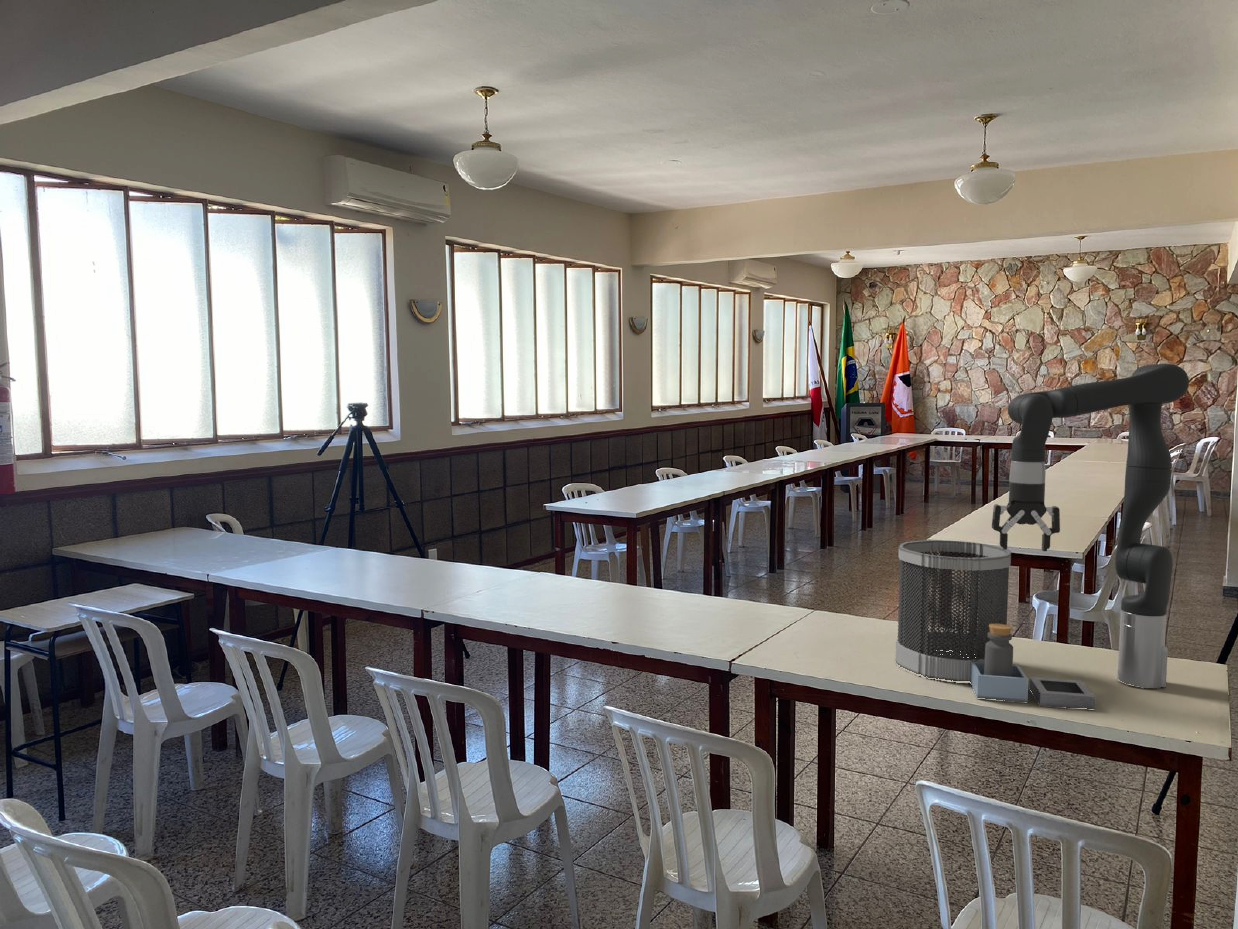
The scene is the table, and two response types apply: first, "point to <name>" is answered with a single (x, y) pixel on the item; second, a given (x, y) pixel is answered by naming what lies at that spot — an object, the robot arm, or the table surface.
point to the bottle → (999, 651)
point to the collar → (1062, 693)
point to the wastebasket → (987, 602)
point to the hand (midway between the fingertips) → (1024, 550)
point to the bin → (999, 684)
